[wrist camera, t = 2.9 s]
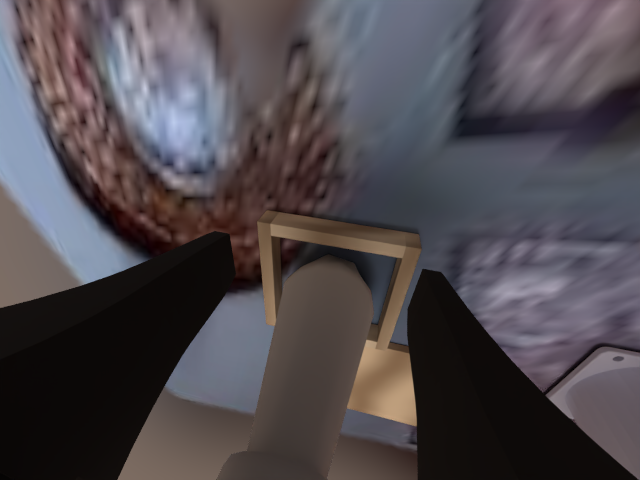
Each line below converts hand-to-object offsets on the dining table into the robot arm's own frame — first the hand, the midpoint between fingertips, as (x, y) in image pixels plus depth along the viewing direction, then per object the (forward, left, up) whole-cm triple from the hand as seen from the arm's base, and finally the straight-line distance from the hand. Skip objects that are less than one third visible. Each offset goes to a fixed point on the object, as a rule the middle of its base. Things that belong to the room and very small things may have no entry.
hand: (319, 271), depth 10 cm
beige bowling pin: (0, +6, -6) cm, 9 cm away
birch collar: (0, +6, -6) cm, 9 cm away
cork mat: (-5, +17, -6) cm, 19 cm away
